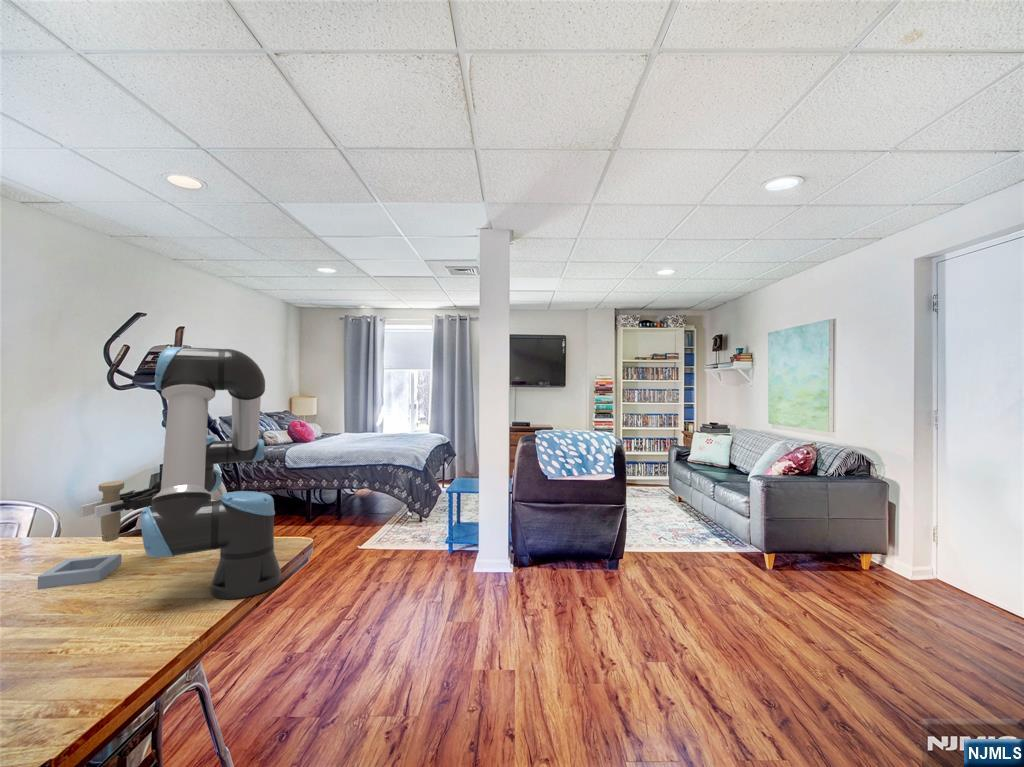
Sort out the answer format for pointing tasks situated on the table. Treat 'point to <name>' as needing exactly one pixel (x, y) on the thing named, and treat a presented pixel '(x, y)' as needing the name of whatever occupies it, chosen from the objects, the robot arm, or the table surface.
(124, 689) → the table surface
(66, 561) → the socket block
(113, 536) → the handle
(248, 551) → the robot arm
